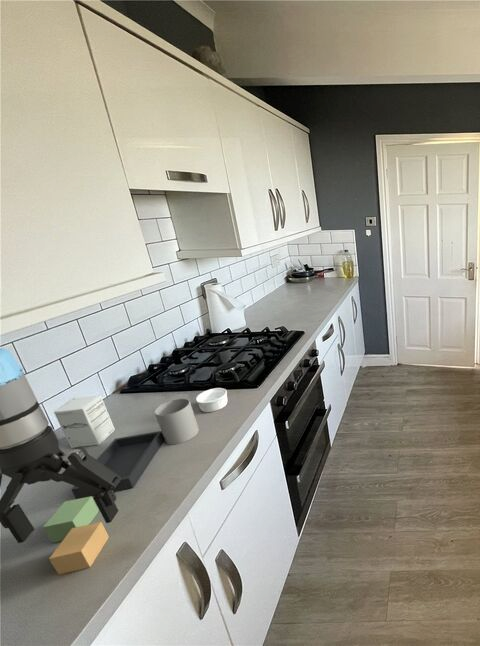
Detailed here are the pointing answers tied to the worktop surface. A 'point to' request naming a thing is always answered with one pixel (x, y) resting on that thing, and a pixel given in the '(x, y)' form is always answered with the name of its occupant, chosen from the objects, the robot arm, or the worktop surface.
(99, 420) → the white packaging box
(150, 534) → the worktop surface
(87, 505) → the pad
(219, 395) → the ramekin
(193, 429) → the cup
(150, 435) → the tray
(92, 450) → the worktop surface
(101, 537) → the light orange rectangular block
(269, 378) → the worktop surface
